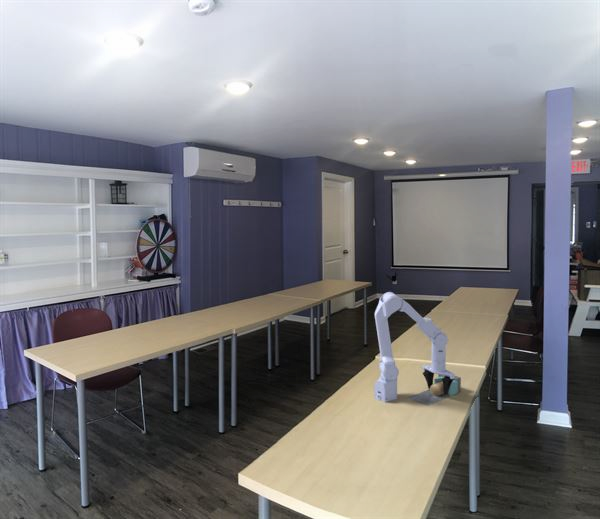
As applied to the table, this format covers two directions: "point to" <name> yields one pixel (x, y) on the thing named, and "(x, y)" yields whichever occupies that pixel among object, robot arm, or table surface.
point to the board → (428, 397)
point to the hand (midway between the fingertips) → (438, 390)
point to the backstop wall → (456, 380)
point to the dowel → (437, 389)
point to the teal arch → (453, 386)
